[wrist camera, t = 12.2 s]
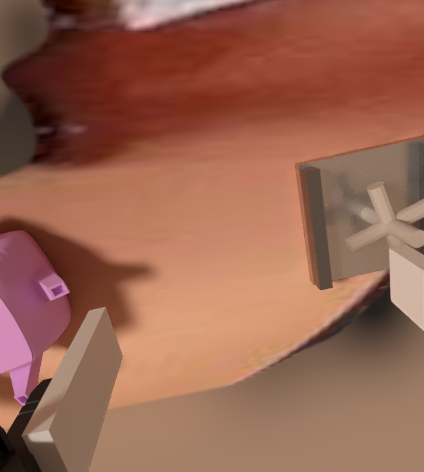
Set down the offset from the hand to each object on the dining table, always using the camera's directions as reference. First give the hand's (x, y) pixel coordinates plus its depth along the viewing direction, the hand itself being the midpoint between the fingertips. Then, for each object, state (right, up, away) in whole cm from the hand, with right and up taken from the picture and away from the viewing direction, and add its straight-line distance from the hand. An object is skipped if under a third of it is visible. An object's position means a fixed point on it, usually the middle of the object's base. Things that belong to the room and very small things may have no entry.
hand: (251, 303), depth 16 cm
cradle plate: (+18, +6, +29) cm, 34 cm away
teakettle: (-27, -4, +29) cm, 40 cm away
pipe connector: (+18, +6, +28) cm, 33 cm away
